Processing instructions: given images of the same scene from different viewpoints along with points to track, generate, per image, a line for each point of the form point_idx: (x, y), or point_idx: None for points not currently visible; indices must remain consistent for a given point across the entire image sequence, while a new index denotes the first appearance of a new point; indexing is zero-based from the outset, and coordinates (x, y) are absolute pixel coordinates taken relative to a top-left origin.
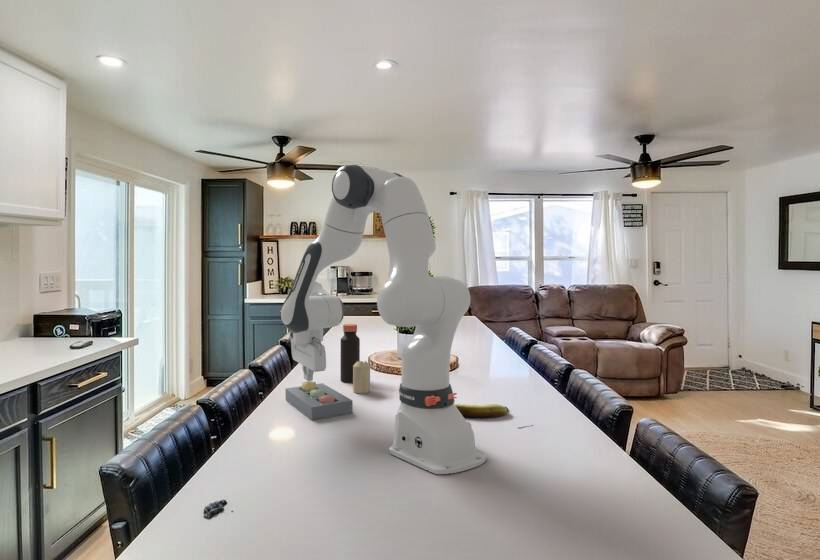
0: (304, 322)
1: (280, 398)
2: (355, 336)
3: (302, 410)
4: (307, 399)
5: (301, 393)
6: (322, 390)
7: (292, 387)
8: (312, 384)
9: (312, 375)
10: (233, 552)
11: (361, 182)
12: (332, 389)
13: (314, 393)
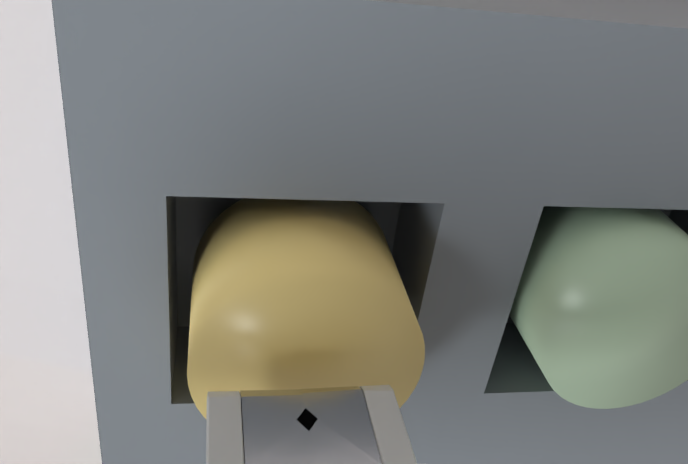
0: None
1: (40, 424)
2: None
3: None
4: (683, 438)
5: (446, 431)
6: (682, 282)
7: (102, 450)
8: (422, 353)
9: (415, 459)
10: None
11: None
12: (604, 36)
13: (670, 381)
